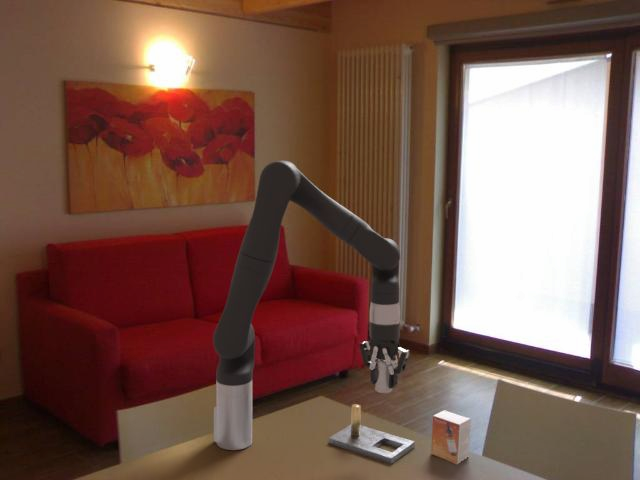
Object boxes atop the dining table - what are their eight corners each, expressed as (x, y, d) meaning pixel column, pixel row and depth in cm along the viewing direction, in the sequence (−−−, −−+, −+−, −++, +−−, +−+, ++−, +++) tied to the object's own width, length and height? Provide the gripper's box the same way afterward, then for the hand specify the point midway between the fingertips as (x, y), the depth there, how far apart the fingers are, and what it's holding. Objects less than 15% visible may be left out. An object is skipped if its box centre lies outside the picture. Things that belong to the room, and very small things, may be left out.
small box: (430, 454, 175) (431, 415, 174) (442, 447, 179) (444, 409, 178) (457, 465, 170) (459, 424, 168) (469, 457, 174) (471, 418, 172)
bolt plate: (328, 443, 181) (329, 408, 179) (353, 428, 190) (354, 395, 189) (391, 464, 170) (392, 427, 168) (414, 447, 179) (415, 412, 178)
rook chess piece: (391, 394, 171) (391, 363, 170) (373, 392, 172) (373, 361, 171) (393, 387, 175) (393, 357, 174) (376, 386, 176) (376, 356, 175)
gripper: (352, 318, 172) (352, 383, 174) (402, 327, 164) (401, 396, 166) (368, 312, 178) (368, 375, 180) (417, 320, 169) (416, 387, 172)
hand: (383, 385), depth 173 cm, fingers closed on rook chess piece, 4 cm apart
